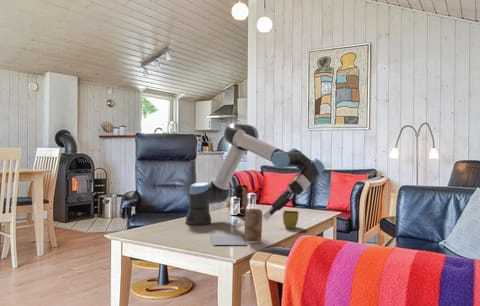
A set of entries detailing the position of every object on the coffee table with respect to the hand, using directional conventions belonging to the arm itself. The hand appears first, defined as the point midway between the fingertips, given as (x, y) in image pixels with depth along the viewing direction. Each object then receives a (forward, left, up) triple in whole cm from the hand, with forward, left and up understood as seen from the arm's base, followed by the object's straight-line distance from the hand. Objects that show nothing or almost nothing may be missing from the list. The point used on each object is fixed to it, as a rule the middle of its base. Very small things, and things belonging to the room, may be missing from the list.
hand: (264, 218), depth 186 cm
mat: (-18, 0, -11) cm, 21 cm away
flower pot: (+23, +31, -11) cm, 40 cm away
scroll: (0, +72, -11) cm, 73 cm away
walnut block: (-6, 0, -11) cm, 12 cm away
